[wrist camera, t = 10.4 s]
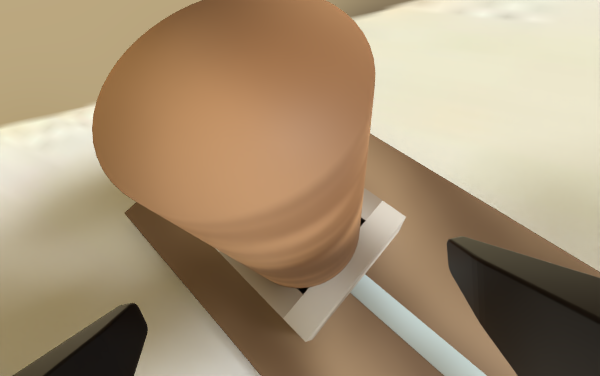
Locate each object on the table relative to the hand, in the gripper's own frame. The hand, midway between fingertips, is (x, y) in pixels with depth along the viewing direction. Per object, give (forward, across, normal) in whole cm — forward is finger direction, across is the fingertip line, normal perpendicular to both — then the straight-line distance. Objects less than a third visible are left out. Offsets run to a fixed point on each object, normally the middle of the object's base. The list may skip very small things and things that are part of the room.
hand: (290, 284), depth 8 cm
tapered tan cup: (+8, 0, +3) cm, 8 cm away
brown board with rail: (+8, -1, +4) cm, 9 cm away
